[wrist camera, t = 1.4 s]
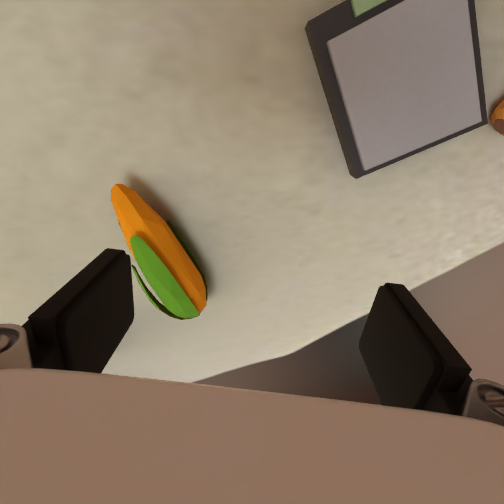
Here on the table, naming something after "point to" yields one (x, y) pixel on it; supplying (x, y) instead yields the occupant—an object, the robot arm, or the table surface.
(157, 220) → the corn
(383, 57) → the scale
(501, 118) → the carrot
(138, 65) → the table surface
